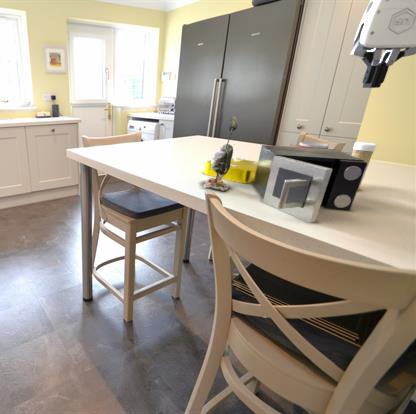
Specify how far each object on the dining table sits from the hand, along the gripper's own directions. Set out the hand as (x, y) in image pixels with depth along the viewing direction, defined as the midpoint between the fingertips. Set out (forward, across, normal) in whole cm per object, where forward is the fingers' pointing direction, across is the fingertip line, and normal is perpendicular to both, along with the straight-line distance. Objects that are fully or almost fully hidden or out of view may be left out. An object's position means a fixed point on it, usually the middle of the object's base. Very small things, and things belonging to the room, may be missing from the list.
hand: (370, 87), depth 60 cm
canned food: (+27, +4, +29) cm, 40 cm away
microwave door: (+27, -14, -9) cm, 32 cm away
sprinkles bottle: (+27, +12, +18) cm, 35 cm away
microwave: (+27, -6, +5) cm, 28 cm away
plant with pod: (+27, -26, +8) cm, 39 cm away
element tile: (+27, -19, +23) cm, 40 cm away
